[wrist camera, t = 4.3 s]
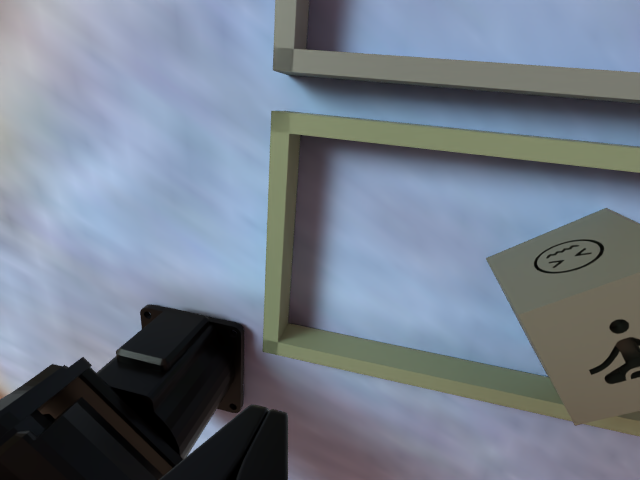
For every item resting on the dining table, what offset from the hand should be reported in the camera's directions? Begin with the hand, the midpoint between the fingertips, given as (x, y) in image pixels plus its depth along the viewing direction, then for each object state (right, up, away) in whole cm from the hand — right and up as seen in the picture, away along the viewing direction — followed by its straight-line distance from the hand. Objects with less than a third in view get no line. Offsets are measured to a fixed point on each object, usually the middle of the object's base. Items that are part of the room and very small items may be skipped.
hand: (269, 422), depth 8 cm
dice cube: (+12, +2, +8) cm, 15 cm away
